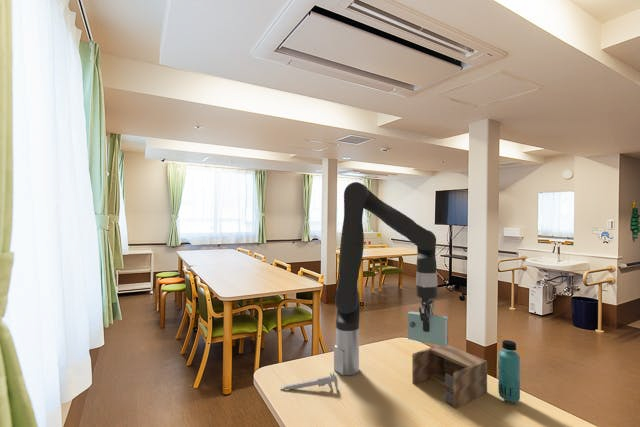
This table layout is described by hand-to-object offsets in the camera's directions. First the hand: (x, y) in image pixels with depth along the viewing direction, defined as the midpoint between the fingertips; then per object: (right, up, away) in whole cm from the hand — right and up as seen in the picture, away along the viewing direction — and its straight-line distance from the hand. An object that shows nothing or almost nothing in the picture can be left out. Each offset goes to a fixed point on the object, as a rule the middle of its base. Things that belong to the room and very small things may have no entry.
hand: (427, 329), depth 119 cm
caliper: (-44, -20, -5) cm, 49 cm away
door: (0, -4, 0) cm, 4 cm away
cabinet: (+6, -19, -4) cm, 21 cm away
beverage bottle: (+23, -20, -12) cm, 33 cm away
